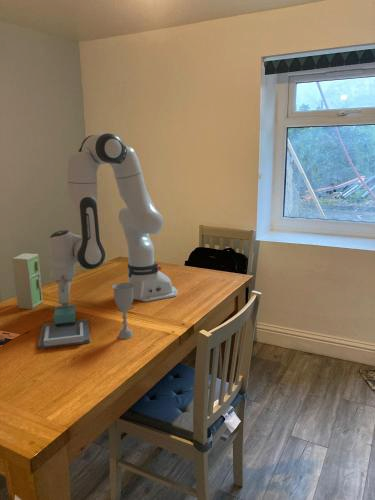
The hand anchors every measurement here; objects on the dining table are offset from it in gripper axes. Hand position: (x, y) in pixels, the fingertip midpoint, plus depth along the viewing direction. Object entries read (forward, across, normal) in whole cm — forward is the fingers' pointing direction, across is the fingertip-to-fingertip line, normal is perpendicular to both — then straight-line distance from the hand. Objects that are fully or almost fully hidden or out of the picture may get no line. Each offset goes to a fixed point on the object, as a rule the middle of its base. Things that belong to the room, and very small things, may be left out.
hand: (65, 306), depth 153 cm
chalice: (+2, -27, -20) cm, 34 cm away
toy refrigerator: (+2, +11, +14) cm, 18 cm away
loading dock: (+3, -20, 0) cm, 20 cm away
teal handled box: (+2, -11, 0) cm, 11 cm away
